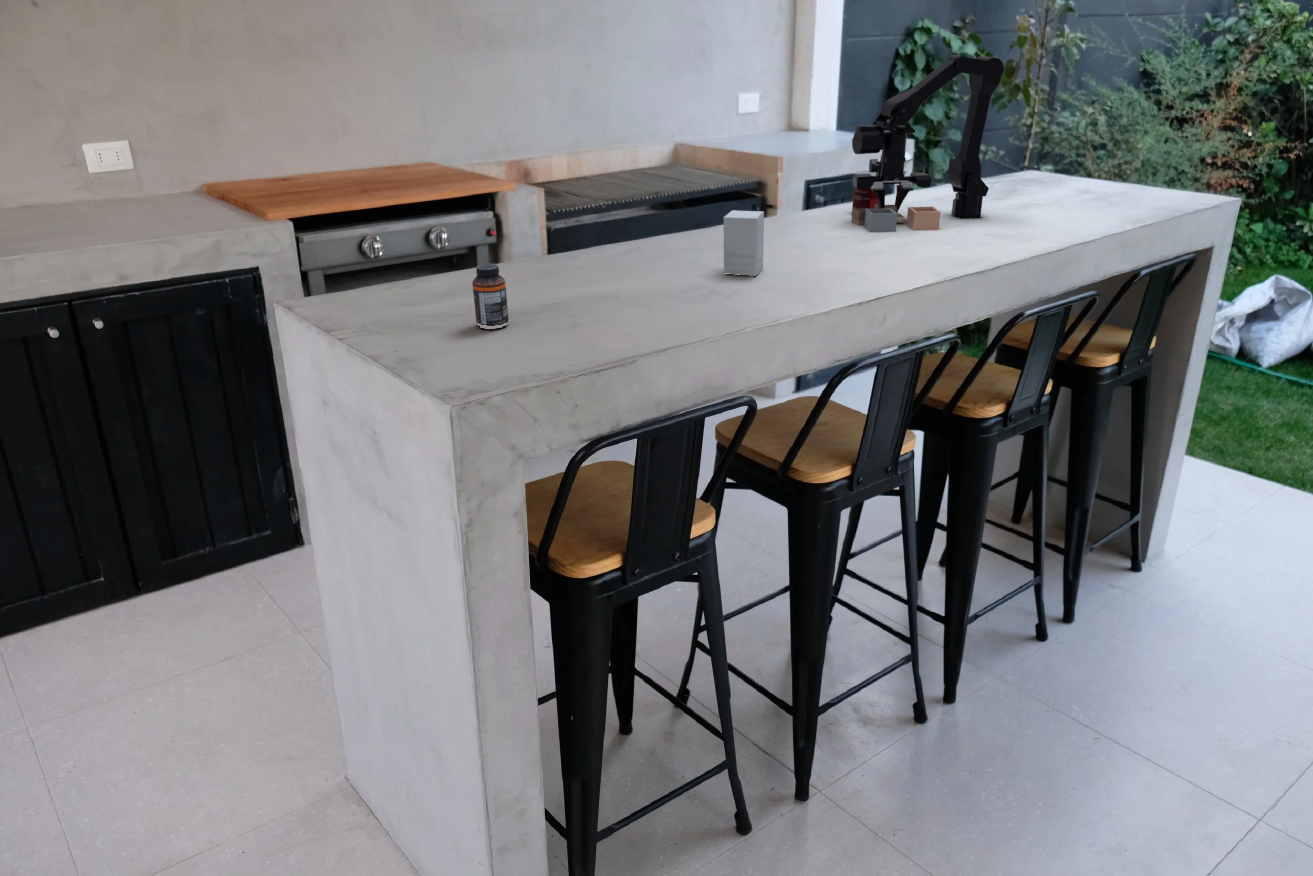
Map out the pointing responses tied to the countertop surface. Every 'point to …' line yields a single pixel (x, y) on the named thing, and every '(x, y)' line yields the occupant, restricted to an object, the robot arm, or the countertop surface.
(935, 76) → the robot arm
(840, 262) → the countertop surface
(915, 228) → the pot
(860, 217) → the walnut block
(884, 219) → the grey open square bin
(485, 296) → the supplement bottle
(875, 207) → the canned food
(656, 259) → the countertop surface
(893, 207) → the lid
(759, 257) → the supplement box
